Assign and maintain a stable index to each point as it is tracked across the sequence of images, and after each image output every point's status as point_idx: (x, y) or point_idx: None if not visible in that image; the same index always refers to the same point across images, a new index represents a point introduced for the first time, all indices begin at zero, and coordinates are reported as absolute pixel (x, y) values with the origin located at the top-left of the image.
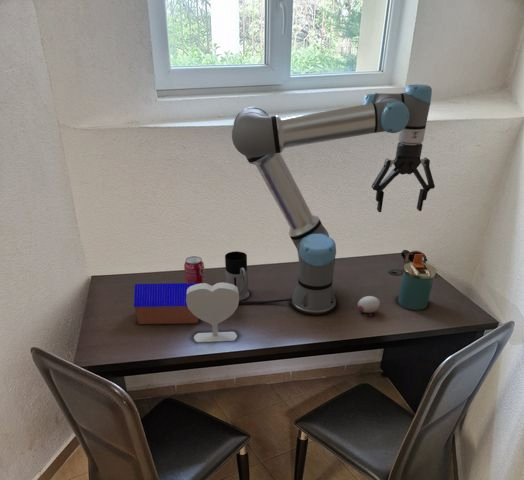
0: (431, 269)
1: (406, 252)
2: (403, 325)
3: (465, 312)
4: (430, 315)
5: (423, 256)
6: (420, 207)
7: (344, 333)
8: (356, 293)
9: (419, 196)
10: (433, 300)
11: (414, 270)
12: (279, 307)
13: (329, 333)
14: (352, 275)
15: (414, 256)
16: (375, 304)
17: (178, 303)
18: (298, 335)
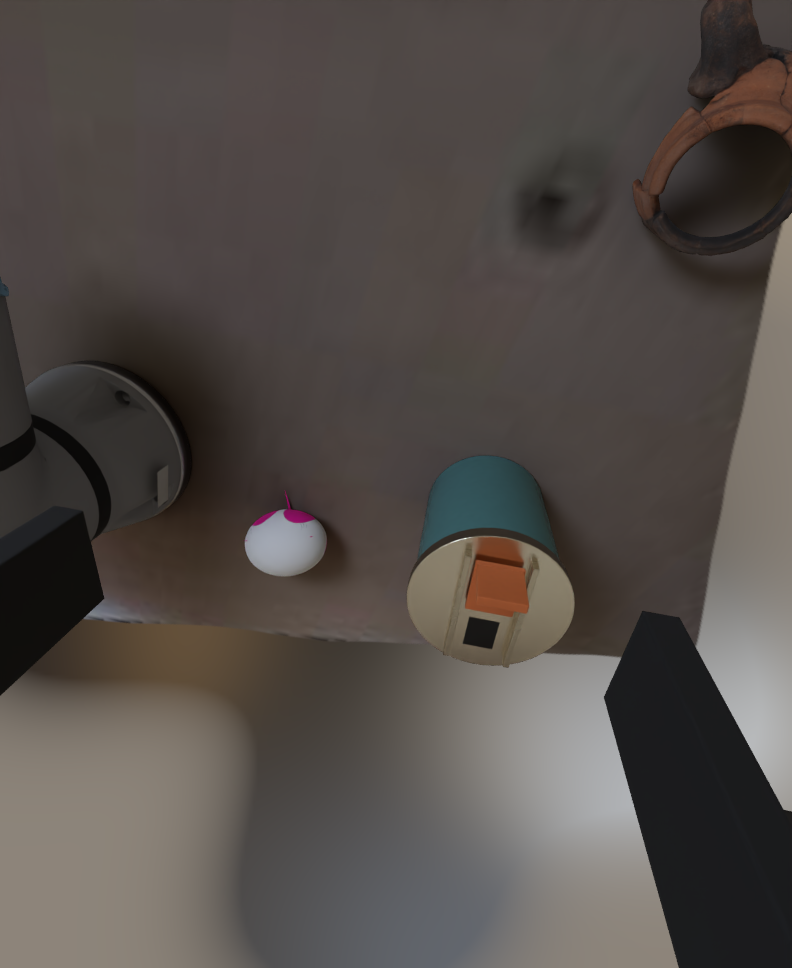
0: (543, 623)
1: (723, 57)
2: (386, 613)
3: (640, 602)
4: None
5: (787, 192)
6: (626, 747)
7: (206, 606)
8: (285, 395)
9: (722, 848)
10: (578, 509)
11: (450, 613)
12: None
13: (165, 596)
14: (305, 201)
15: (476, 590)
16: (297, 574)
17: None
18: None
